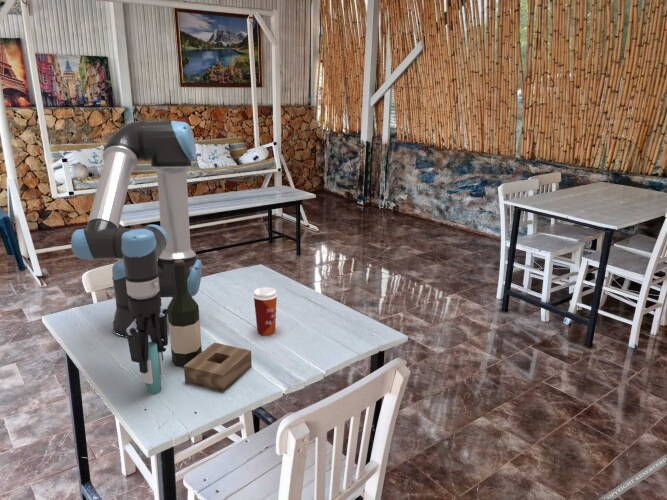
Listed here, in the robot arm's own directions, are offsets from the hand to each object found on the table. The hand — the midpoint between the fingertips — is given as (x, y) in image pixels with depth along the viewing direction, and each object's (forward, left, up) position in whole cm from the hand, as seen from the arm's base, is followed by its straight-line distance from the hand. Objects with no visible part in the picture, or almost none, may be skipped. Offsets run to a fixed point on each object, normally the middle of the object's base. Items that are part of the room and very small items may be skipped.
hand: (153, 378), depth 134 cm
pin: (0, 0, -4) cm, 4 cm away
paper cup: (+10, +40, -4) cm, 42 cm away
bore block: (+11, +13, -4) cm, 17 cm away
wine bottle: (-2, +16, -4) cm, 17 cm away
